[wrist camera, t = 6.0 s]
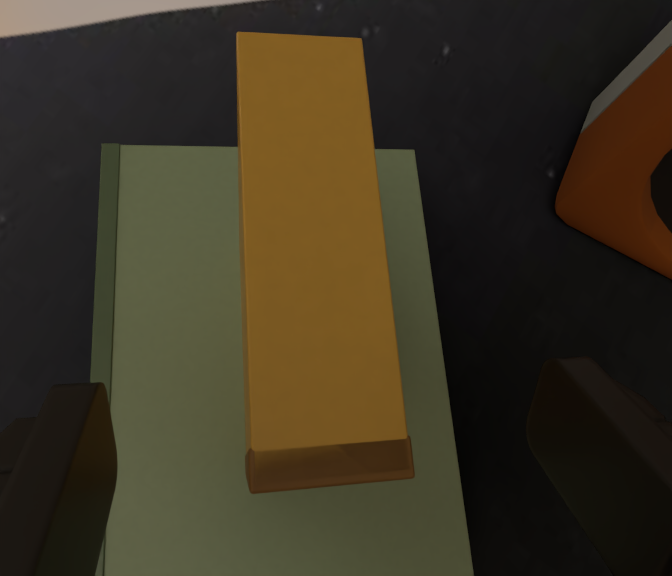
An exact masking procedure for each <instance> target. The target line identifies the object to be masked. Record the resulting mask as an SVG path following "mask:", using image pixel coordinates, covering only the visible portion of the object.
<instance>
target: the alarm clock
mask: <svg viewBox="0 0 672 576" xmlns="http://www.w3.org/2000/svg"><path fill="white" fill-rule="evenodd" d="M555 210H556V214H557V215H558V216H559V217H560V218H561V219H562V220H563V221H564V222H565V223H566V224H567V225H569V226H571V227H573V228H575V229H577V230H579V231H581V232H582V233H584V234H586V235H588V236H590V237H592V238H594V239H596V240H598V241H600V242H602V243H603V244H605V245H607V246H609V247H611V248H613V249H615V250H617V251H619V252H621V253H622V254H624V255H626V256H628V257H630V258H632V259H634V260H636V261H638V262H640V263H641V264H643V265H645V266H647V267H649V268H651V269H653V270H655V271H657V272H658V273H660V274H662V275H664V276H666V277H668V278H670V279H672V20H671V21H670V22H669V24H668V25H667V26H666V27H665V28H664V29H663V30H662V31H661V32H660V33H659V34H658V35H657V36H656V37H655V38H654V39H653V40H652V41H651V42H650V43H649V44H648V45H647V46H646V47H645V48H644V49H643V50H642V52H641V53H640V54H639V55H638V56H637V57H636V58H635V59H634V60H633V61H632V62H631V63H630V64H629V65H628V66H627V67H626V68H625V69H624V70H623V71H622V72H621V73H620V74H619V75H618V76H617V77H616V78H615V79H614V80H613V81H612V82H611V83H610V84H609V85H608V87H607V88H606V89H605V90H604V91H603V92H602V93H601V94H600V95H599V96H598V97H597V98H596V99H595V100H594V101H593V102H592V104H591V107H590V109H589V112H588V114H587V117H586V120H585V122H584V125H583V127H582V130H581V134H580V135H579V138H578V140H577V143H576V146H575V148H574V151H573V154H572V156H571V159H570V161H569V164H568V167H567V169H566V172H565V174H564V177H563V180H562V182H561V185H560V187H559V190H558V193H557V196H556V202H555Z"/></svg>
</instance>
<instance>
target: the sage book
mask: <svg viewBox="0 0 672 576" xmlns="http://www.w3.org/2000/svg"><path fill="white" fill-rule="evenodd" d="M375 157H376V165H377V174H378V182H379V191H380V200H381V208H382V217H383V225H384V234H385V243H386V251H387V260H388V268H389V277H390V286H391V294H392V303H393V311H394V320H395V329H396V337H397V346H398V355H399V363H400V372H401V380H402V389H403V398H404V406H405V415H406V423H407V432H408V436H410V438H411V445H412V454H413V462H414V471H415V476H414V478H412V479H404V480H394V481H383V482H373V483H363V484H352V485H342V486H332V487H321V488H311V489H300V490H290V491H280V492H269V493H259V494H252V493H250V491H249V487H248V483H247V479H246V474H245V456H246V436H245V405H244V375H243V344H242V313H241V282H240V251H239V193H238V147H208V146H145V145H120V144H107V143H103V144H102V150H101V170H100V191H99V211H98V232H97V252H96V272H95V293H94V313H93V334H92V354H91V375H90V383H95V382H102V383H104V385H105V387H106V391H107V396H108V402H109V407H110V413H111V419H112V425H113V431H114V437H115V442H116V448H117V459H118V470H117V482H116V488H115V492H114V497H113V501H112V505H111V509H110V514H109V518H108V522H107V526H106V531H105V535H104V539H103V543H102V548H101V552H100V556H99V560H98V565H97V569H96V573H95V576H474V573H473V566H472V559H471V551H470V544H469V537H468V530H467V523H466V516H465V509H464V501H463V494H462V487H461V480H460V473H459V466H458V459H457V452H456V444H455V437H454V430H453V423H452V416H451V409H450V402H449V394H448V387H447V380H446V373H445V366H444V359H443V352H442V344H441V337H440V330H439V323H438V316H437V309H436V302H435V294H434V287H433V280H432V273H431V266H430V259H429V252H428V244H427V237H426V230H425V223H424V216H423V209H422V202H421V195H420V187H419V180H418V173H417V166H416V159H415V152H414V150H395V149H375Z"/></svg>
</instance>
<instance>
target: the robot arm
mask: <svg viewBox="0 0 672 576" xmlns="http://www.w3.org/2000/svg"><path fill="white" fill-rule="evenodd" d="M526 435H527V440H528V444H529V447H530V449H531V451H532V453H533V455H534V456H535V458H536V459H537V461H538V462H539V464H540V465H541V467H542V468H543V470H544V471H545V473H546V474H547V476H548V477H549V479H550V480H551V482H552V483H553V485H554V487H555V488H556V490H557V491H558V493H559V494H560V496H561V497H562V499H563V500H564V502H565V503H566V505H567V506H568V508H569V509H570V511H571V512H572V514H573V515H574V517H575V518H576V520H577V521H578V523H579V524H580V526H581V527H582V529H583V530H584V532H585V533H586V535H587V536H588V538H589V539H590V541H591V542H592V544H593V545H594V547H595V548H596V550H597V551H598V553H599V554H600V556H601V557H602V559H603V560H604V562H605V563H606V565H607V566H608V568H609V569H610V571H611V572H612V574H613V575H614V576H672V424H671V423H670V422H666V421H665V417H664V416H663V415H662V414H661V413H660V412H659V411H658V410H657V409H656V408H654V407H653V406H652V405H651V404H650V403H649V402H648V401H647V400H646V399H645V398H644V397H642V396H641V395H639V394H637V393H636V392H634V391H632V390H631V389H629V388H627V387H626V386H624V385H622V384H621V383H619V382H617V381H614V380H613V379H612V378H611V377H610V376H609V375H608V374H607V373H606V372H605V371H604V370H603V369H602V368H601V367H600V366H599V365H598V364H597V363H596V362H595V361H594V360H593V359H591V358H589V357H570V358H552V359H548V360H546V361H545V362H544V364H543V365H542V368H541V371H540V374H539V378H538V382H537V385H536V389H535V392H534V396H533V399H532V403H531V407H530V410H529V414H528V417H527V422H526ZM117 470H118V459H117V448H116V442H115V437H114V431H113V425H112V419H111V413H110V407H109V402H108V396H107V391H106V387H105V385H104V383H102V382H95V383H77V384H58V385H53V386H52V387H51V389H50V391H49V393H48V395H47V397H46V399H45V401H44V403H43V405H42V408H41V410H40V412H39V414H38V416H37V417H33V418H18V419H16V420H14V421H13V422H12V423H11V424H10V425H9V426H8V427H7V428H6V429H4V430H3V431H2V432H1V433H0V576H95V573H96V569H97V565H98V560H99V556H100V552H101V548H102V543H103V539H104V535H105V531H106V526H107V522H108V518H109V514H110V509H111V505H112V501H113V497H114V492H115V488H116V482H117Z"/></svg>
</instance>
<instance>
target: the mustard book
mask: <svg viewBox="0 0 672 576" xmlns="http://www.w3.org/2000/svg"><path fill="white" fill-rule="evenodd" d="M236 57H237V125H238V193H239V251H240V282H241V313H242V344H243V375H244V405H245V436H246V456H245V474H246V479H247V483H248V487H249V491H250V493H252V494H259V493H269V492H280V491H290V490H300V489H311V488H321V487H332V486H342V485H352V484H363V483H373V482H383V481H394V480H404V479H412V478H414V476H415V471H414V462H413V454H412V445H411V438H410V436H408V432H407V423H406V415H405V406H404V398H403V389H402V380H401V372H400V363H399V355H398V346H397V337H396V329H395V320H394V311H393V303H392V294H391V286H390V277H389V268H388V260H387V251H386V243H385V234H384V225H383V217H382V208H381V200H380V191H379V182H378V174H377V165H376V157H375V148H374V139H373V131H372V122H371V114H370V105H369V96H368V88H367V79H366V70H365V62H364V53H363V45H362V39H360V38H346V37H328V36H309V35H290V34H271V33H252V32H237V34H236Z"/></svg>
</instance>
